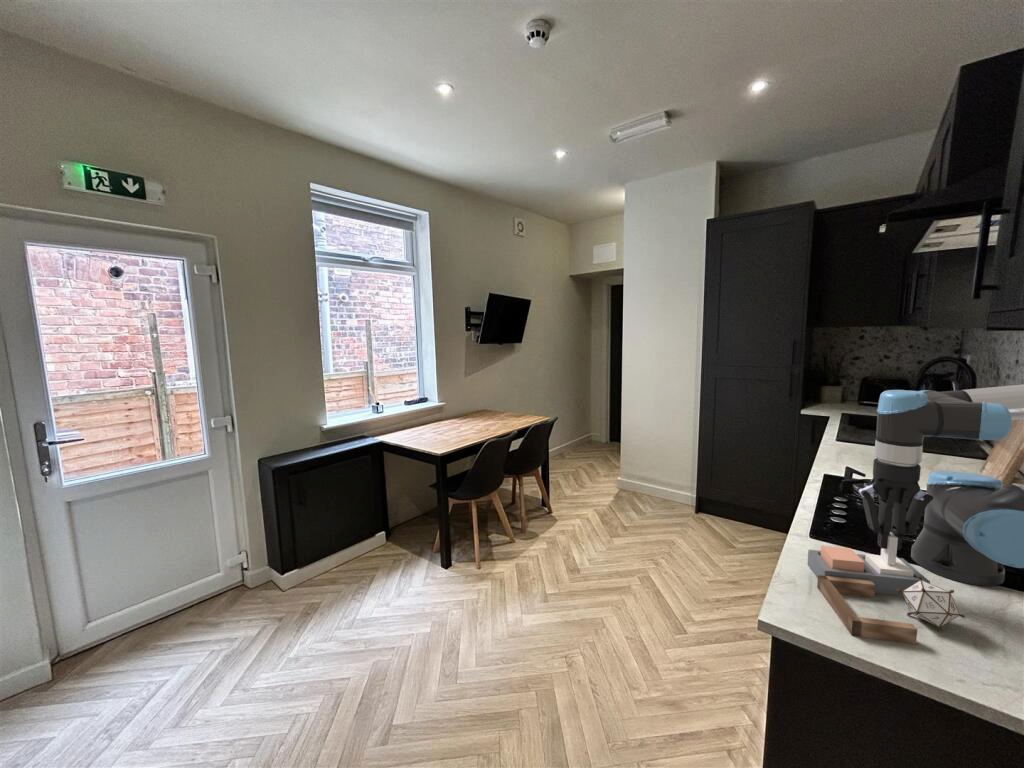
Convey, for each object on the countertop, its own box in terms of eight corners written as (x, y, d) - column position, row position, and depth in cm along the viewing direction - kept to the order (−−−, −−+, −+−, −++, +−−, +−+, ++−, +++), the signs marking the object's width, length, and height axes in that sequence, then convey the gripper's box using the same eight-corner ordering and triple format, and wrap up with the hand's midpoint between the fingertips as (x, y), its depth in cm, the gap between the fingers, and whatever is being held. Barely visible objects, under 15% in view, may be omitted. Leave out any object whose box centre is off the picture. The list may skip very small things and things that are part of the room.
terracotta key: (849, 560, 97) (850, 548, 96) (863, 574, 91) (864, 562, 91) (820, 557, 98) (821, 545, 98) (832, 571, 93) (832, 559, 92)
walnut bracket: (870, 593, 89) (871, 580, 89) (916, 644, 75) (917, 629, 75) (817, 587, 92) (817, 575, 92) (851, 635, 78) (852, 620, 78)
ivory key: (895, 569, 94) (896, 557, 94) (912, 584, 89) (914, 571, 88) (864, 566, 96) (865, 554, 96) (879, 581, 90) (880, 568, 90)
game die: (914, 631, 83) (894, 577, 88) (974, 635, 78) (949, 577, 82) (908, 630, 78) (888, 572, 83) (972, 634, 72) (946, 572, 77)
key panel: (901, 574, 95) (902, 558, 95) (928, 598, 87) (929, 581, 86) (807, 564, 101) (808, 549, 100) (823, 586, 92) (824, 570, 92)
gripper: (922, 457, 91) (912, 555, 94) (852, 454, 94) (845, 549, 97) (947, 468, 84) (935, 574, 87) (870, 464, 87) (862, 567, 90)
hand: (887, 561), depth 92 cm, fingers closed
